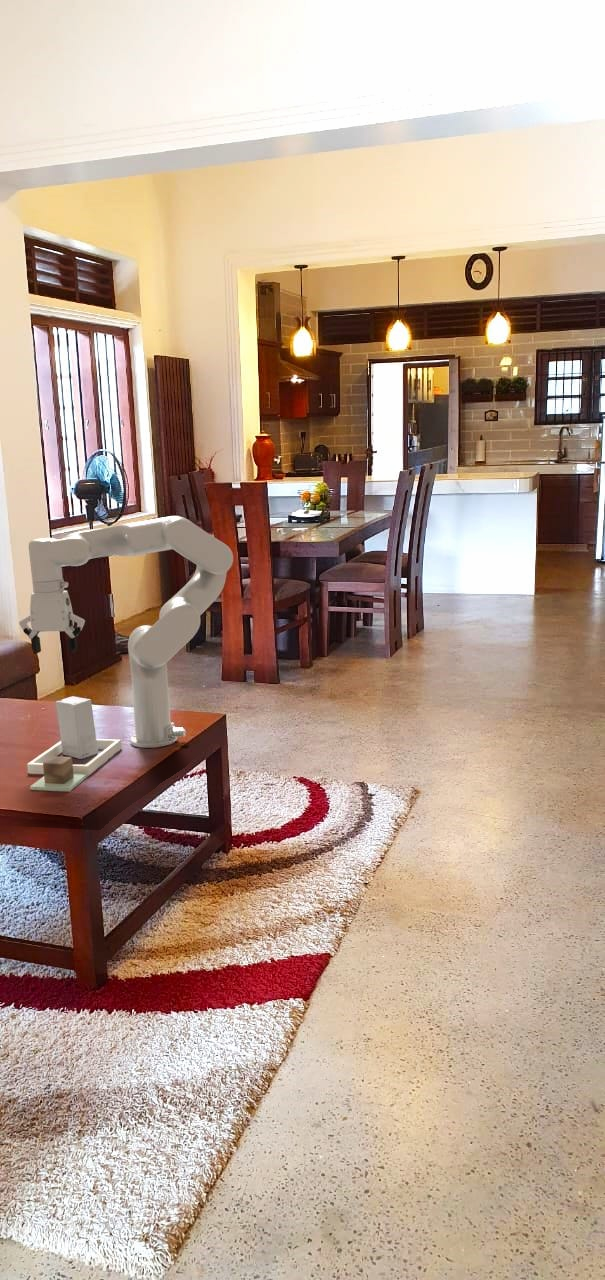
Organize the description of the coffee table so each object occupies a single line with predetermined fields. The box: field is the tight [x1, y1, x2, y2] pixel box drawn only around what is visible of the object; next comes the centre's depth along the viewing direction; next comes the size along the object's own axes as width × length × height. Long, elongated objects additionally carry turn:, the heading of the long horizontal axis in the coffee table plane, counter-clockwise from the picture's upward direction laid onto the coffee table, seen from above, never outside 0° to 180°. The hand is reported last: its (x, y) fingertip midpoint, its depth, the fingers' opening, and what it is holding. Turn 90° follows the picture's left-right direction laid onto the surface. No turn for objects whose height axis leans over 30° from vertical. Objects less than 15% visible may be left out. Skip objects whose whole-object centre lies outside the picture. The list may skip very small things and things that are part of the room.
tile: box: [29, 773, 89, 792], centre depth 229 cm, size 10×10×1 cm
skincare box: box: [55, 695, 99, 760], centre depth 248 cm, size 8×6×15 cm
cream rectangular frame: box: [26, 738, 122, 777], centre depth 245 cm, size 16×21×2 cm
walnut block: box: [43, 755, 74, 784], centre depth 228 cm, size 5×5×5 cm
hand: (55, 652), depth 247 cm, fingers open, 9 cm apart
